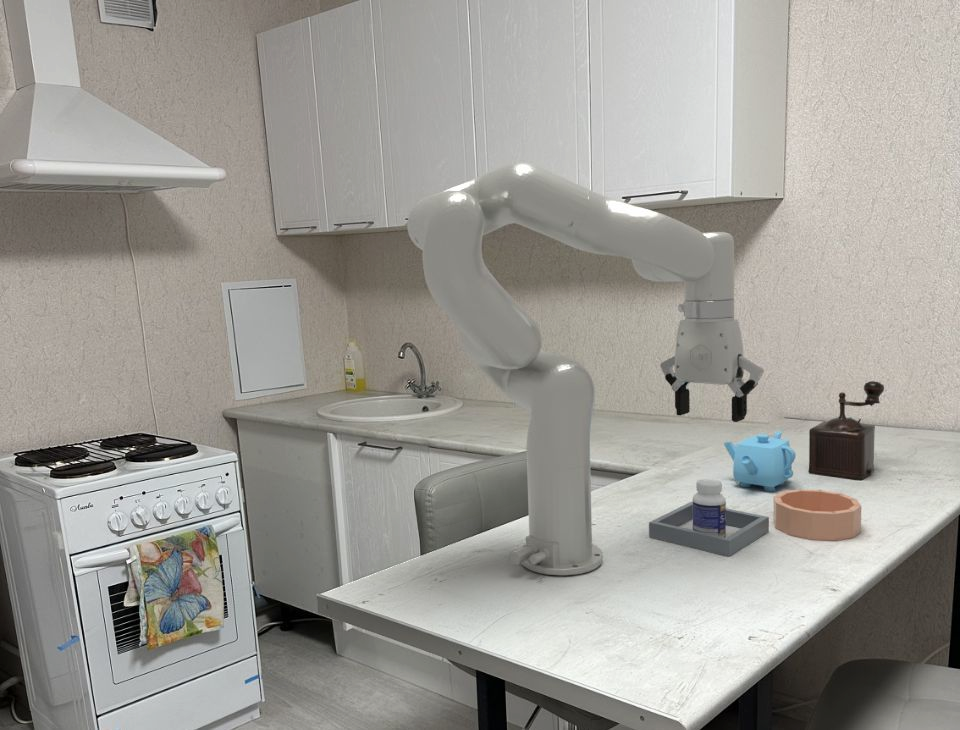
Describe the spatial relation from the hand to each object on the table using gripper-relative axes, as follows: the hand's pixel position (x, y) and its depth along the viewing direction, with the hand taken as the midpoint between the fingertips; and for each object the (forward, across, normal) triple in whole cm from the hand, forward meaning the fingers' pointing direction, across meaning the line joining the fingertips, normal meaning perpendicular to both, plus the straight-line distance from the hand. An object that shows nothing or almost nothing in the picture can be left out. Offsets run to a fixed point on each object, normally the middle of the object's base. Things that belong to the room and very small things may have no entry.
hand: (710, 417), depth 127 cm
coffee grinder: (+20, +3, +52) cm, 56 cm away
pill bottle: (+20, 0, 0) cm, 20 cm away
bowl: (+20, +12, +14) cm, 27 cm away
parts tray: (+20, 0, 0) cm, 20 cm away
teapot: (+20, -6, +32) cm, 38 cm away
